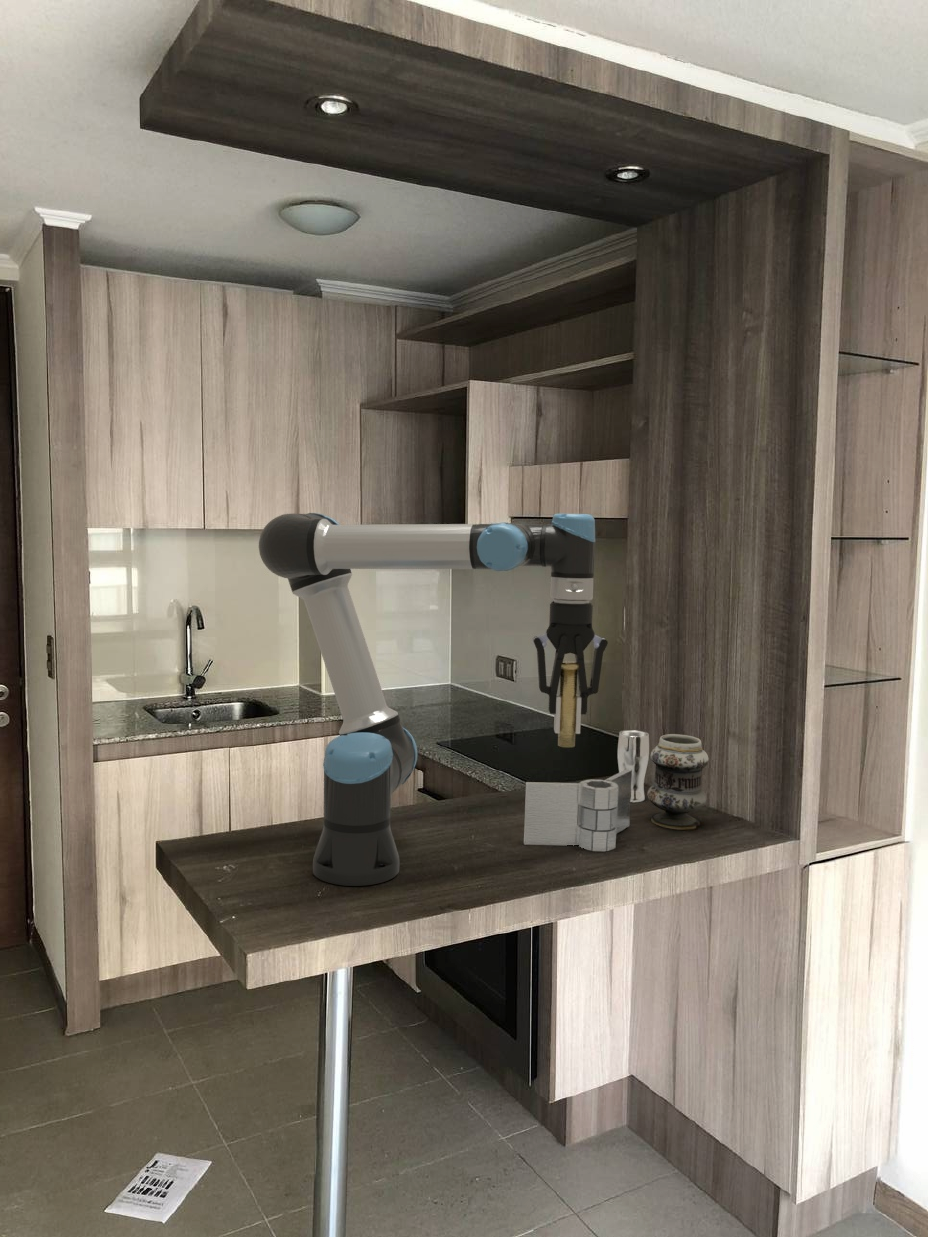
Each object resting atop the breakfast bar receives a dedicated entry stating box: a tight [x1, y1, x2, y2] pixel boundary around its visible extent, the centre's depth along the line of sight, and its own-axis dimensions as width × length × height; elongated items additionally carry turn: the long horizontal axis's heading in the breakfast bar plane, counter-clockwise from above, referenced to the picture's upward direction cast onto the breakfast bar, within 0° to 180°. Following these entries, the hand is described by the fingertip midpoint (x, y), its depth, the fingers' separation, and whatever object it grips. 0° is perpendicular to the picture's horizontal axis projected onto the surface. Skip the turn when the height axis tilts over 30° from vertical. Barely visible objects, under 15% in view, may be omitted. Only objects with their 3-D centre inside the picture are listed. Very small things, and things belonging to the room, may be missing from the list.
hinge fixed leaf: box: [523, 778, 618, 852], centre depth 189 cm, size 18×7×12 cm, turn 91°
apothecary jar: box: [646, 733, 709, 831], centre depth 204 cm, size 12×12×18 cm
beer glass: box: [617, 729, 650, 803], centre depth 221 cm, size 7×7×15 cm
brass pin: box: [557, 660, 579, 748], centre depth 175 cm, size 4×4×15 cm
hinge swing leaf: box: [577, 769, 632, 835], centre depth 193 cm, size 18×7×12 cm, turn 146°
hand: (566, 731), depth 176 cm, fingers closed on brass pin, 3 cm apart
